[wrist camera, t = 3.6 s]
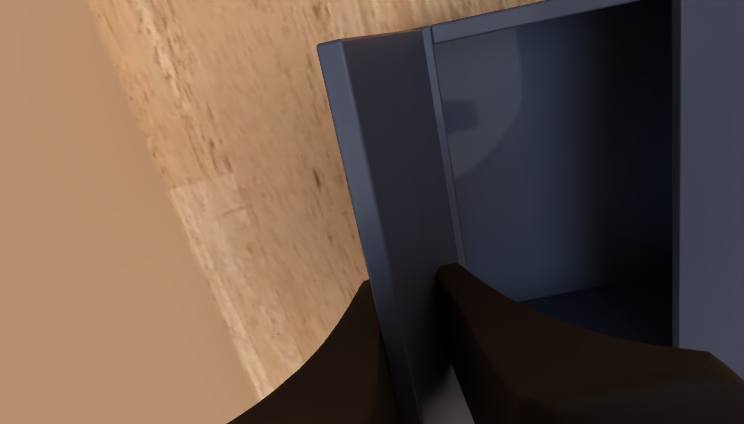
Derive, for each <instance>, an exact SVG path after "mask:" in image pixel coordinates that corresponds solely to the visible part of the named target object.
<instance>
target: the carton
mask: <svg viewBox="0 0 744 424" xmlns="http://www.w3.org/2000/svg"><path fill="white" fill-rule="evenodd" d="M417 29H421V30H422V34H423V40H424V47H425V53H426V59H427V65H428V72H429V78H430V84H431V91H432V97H433V103H434V109H435V116H436V122H437V128H438V134H439V141H440V147H441V153H442V160H443V166H444V172H445V178H446V185H447V191H448V197H449V204H450V210H451V216H452V222H453V229H454V235H455V241H456V248H457V254H458V260H459V264H460V265H461V266H463V267H464V268H465V269H467V270H468V271H469V272H471V273H472V274H473V275H475V276H476V277H478V278H479V279H480V280H482V281H483V282H485V283H486V284H488V285H489V286H491V287H492V288H494V289H495V290H497V291H498V292H500V293H502V294H503V295H505V296H507V297H509V298H510V299H512V300H514V301H516V302H518V303H520V304H522V305H524V306H526V307H528V308H530V309H532V310H534V311H536V312H539V313H541V314H544V315H546V316H548V317H551V318H553V319H556V320H558V321H561V322H564V323H567V324H570V325H573V326H576V327H579V328H583V329H586V330H589V331H593V332H596V333H600V334H604V335H608V336H612V337H616V338H621V339H626V340H631V341H636V342H641V343H646V344H652V345H659V346H668V347H676V348H684V349H692V350H700V351H708V352H710V353H711V354H713V355H714V356H715V357H717V358H718V359H719V360H721V361H722V362H723V363H724V364H726V365H727V366H728V367H729V368H731V369H732V370H733V371H734V372H735V373H737V374H738V375H739V376H740V377H741V378H742V379H743V380H744V0H545V1H540V2H536V3H531V4H527V5H522V6H517V7H513V8H508V9H503V10H499V11H494V12H490V13H485V14H480V15H476V16H471V17H466V18H462V19H457V20H453V21H448V22H443V23H439V24H434V25H431V26H425V27H420V28H416V29H413V30H417Z"/></svg>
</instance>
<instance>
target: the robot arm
mask: <svg viewBox="0 0 744 424" xmlns="http://www.w3.org/2000/svg"><path fill="white" fill-rule="evenodd" d="M436 278H437V284H438V289H439V295H440V300H441V306H442V311H443V317H444V322H445V328H446V333H447V339H448V344H449V350H450V356H451V361H452V365H453V369H454V372H455V375H456V378H457V380H458V383H459V385H460V388H461V390H462V393H463V396H464V398H465V401H466V403H467V406H468V408H469V411H470V413H471V416H472V419H473V421H474V424H744V380H743V379H742V378H741V377H740V376H739V375H738V374H737V373H735V372H734V371H733V370H732V369H731V368H729V367H728V366H727V365H726V364H724V363H723V362H722V361H721V360H719V359H718V358H717V357H715V356H714V355H713V354H711V353H710V352H708V351H700V350H692V349H684V348H676V347H668V346H659V345H652V344H646V343H641V342H636V341H631V340H626V339H621V338H616V337H612V336H608V335H604V334H600V333H596V332H593V331H589V330H586V329H583V328H579V327H576V326H573V325H570V324H567V323H564V322H561V321H558V320H556V319H553V318H551V317H548V316H546V315H544V314H541V313H539V312H536V311H534V310H532V309H530V308H528V307H526V306H524V305H522V304H520V303H518V302H516V301H514V300H512V299H510V298H509V297H507V296H505V295H503V294H502V293H500V292H498V291H497V290H495V289H494V288H492V287H491V286H489V285H488V284H486V283H485V282H483V281H482V280H480V279H479V278H478V277H476V276H475V275H473V274H472V273H471V272H469V271H468V270H467V269H465V268H464V267H463V266H461V265H460V264H458V263H452V264H447V265H442V266H441V267H440V268H439V269H438V270H437V272H436ZM227 424H402V420H401V415H400V411H399V407H398V402H397V398H396V393H395V389H394V385H393V380H392V376H391V372H390V367H389V363H388V358H387V354H386V350H385V345H384V341H383V337H382V332H381V328H380V323H379V319H378V315H377V310H376V306H375V302H374V297H373V293H372V288H371V284H370V280H365V281H363V283H362V284H361V286H360V287H359V289H358V291H357V293H356V295H355V296H354V298H353V300H352V302H351V303H350V305H349V307H348V308H347V310H346V312H345V313H344V315H343V316H342V318H341V319H340V321H339V323H338V324H337V325H336V327H335V328H334V330H333V331H332V332H331V334H330V335H329V336H328V338H327V339H326V340H325V342H324V343H323V344H322V345H321V347H320V348H319V349H318V350H317V351H316V352H315V353H314V354H313V355H312V356H311V357H310V359H309V360H308V361H307V362H306V363H305V364H304V365H303V366H302V367H301V368H300V369H299V370H298V371H296V372H295V373H294V374H293V375H292V376H291V377H289V378H288V379H287V380H286V381H285V382H284V383H283V384H281V385H280V386H279V387H278V388H277V389H276V390H274V391H273V392H272V393H271V394H269V395H268V396H267V397H265V398H264V399H263V400H261V401H260V402H259V403H257V404H256V405H255V406H253V407H252V408H250V409H249V410H247V411H246V412H244V413H243V414H241V415H240V416H238V417H237V418H235V419H234V420H232V421H230V422H229V423H227Z"/></svg>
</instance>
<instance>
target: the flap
mask: <svg viewBox="0 0 744 424" xmlns="http://www.w3.org/2000/svg"><path fill="white" fill-rule="evenodd" d="M317 52H318V56H319V61H320V65H321V69H322V74H323V78H324V83H325V87H326V91H327V96H328V100H329V104H330V109H331V113H332V118H333V122H334V126H335V131H336V135H337V140H338V144H339V148H340V153H341V157H342V161H343V166H344V170H345V175H346V179H347V183H348V188H349V192H350V196H351V201H352V205H353V210H354V214H355V218H356V223H357V227H358V231H359V236H360V240H361V245H362V249H363V253H364V258H365V262H366V266H367V271H368V275H369V280H370V284H371V288H372V293H373V297H374V302H375V306H376V310H377V315H378V319H379V323H380V328H381V332H382V337H383V341H384V345H385V350H386V354H387V358H388V363H389V367H390V372H391V376H392V380H393V385H394V389H395V393H396V398H397V402H398V407H399V411H400V415H401V420H402V424H474V421H473V419H472V416H471V413H470V411H469V408H468V406H467V403H466V401H465V398H464V396H463V393H462V390H461V388H460V385H459V383H458V380H457V378H456V375H455V372H454V369H453V365H452V361H451V356H450V350H449V344H448V339H447V333H446V328H445V322H444V317H443V311H442V306H441V300H440V295H439V289H438V284H437V278H436V272H437V270H438V269H439V268H440V267H441V266H442V265H447V264H452V263H458V264H459V260H458V254H457V248H456V241H455V235H454V229H453V222H452V216H451V210H450V204H449V197H448V191H447V185H446V178H445V172H444V166H443V160H442V153H441V147H440V141H439V134H438V128H437V122H436V116H435V109H434V103H433V97H432V91H431V84H430V78H429V72H428V65H427V59H426V53H425V47H424V40H423V34H422V30H421V29H417V30H409V31H401V32H393V33H384V34H376V35H368V36H360V37H352V38H344V39H337V40H333V41H329V42H324V43H320V44H318V45H317Z"/></svg>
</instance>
